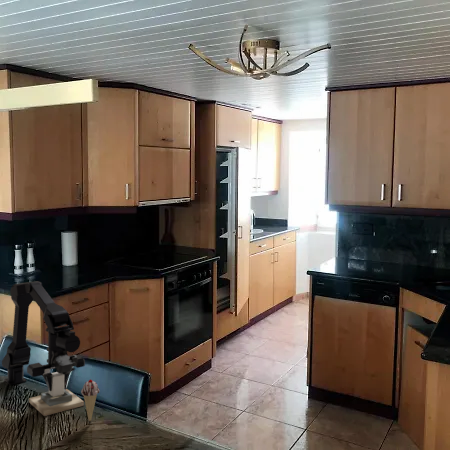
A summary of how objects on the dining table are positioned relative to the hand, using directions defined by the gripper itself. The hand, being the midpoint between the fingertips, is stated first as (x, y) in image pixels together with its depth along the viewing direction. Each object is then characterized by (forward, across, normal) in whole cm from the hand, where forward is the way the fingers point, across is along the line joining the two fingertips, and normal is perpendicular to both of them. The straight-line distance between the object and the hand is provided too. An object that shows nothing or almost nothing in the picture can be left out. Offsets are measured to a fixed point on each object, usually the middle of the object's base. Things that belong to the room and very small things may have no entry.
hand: (56, 389), depth 177 cm
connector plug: (+2, 0, 0) cm, 2 cm away
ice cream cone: (+5, +2, -22) cm, 23 cm away
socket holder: (+5, 0, 0) cm, 5 cm away
